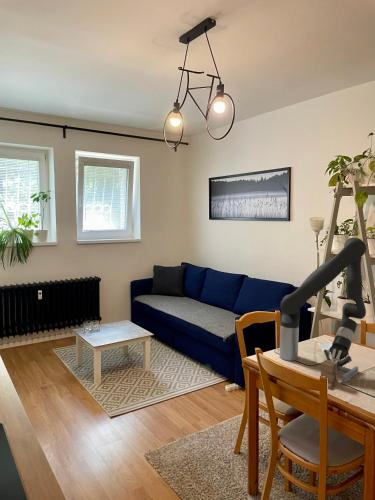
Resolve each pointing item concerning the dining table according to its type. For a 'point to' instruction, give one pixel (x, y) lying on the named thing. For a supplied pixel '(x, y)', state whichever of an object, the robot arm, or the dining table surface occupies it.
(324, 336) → the dining table surface
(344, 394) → the dining table surface
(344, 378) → the channel
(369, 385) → the dining table surface
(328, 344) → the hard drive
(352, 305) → the robot arm
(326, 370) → the walnut block
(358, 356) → the dining table surface
